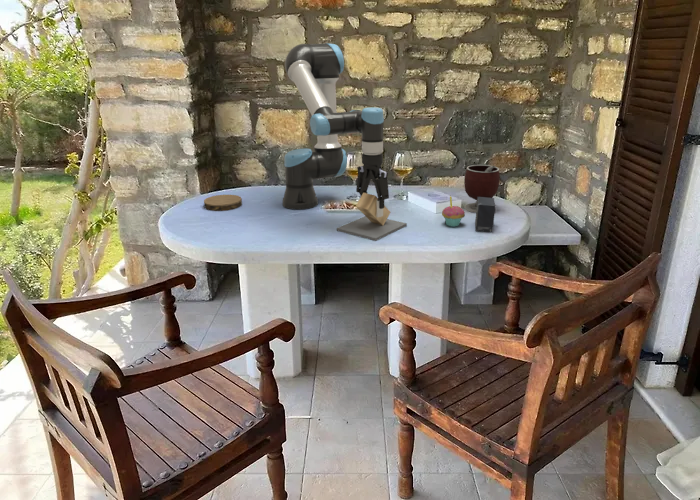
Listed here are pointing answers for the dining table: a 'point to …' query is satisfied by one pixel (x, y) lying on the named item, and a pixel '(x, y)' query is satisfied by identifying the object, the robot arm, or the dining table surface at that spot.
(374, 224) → the mat
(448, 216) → the cupcake
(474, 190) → the mate gourd
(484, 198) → the small box
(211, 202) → the wood slice
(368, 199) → the oak block
